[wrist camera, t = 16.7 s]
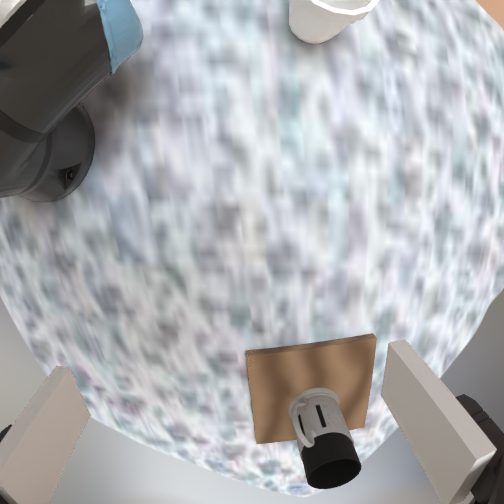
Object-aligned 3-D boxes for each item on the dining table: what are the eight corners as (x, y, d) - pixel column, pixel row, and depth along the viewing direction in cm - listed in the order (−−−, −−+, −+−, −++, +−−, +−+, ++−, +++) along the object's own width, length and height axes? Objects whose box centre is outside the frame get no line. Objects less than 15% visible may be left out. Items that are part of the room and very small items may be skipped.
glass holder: (303, 431, 50) (319, 497, 36) (259, 385, 47) (267, 457, 33) (347, 408, 50) (374, 471, 35) (308, 356, 46) (333, 425, 32)
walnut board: (256, 438, 52) (256, 444, 51) (245, 350, 47) (246, 356, 46) (361, 421, 53) (364, 426, 51) (373, 333, 47) (376, 338, 46)
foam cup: (340, 61, 37) (377, 26, 24) (272, 45, 36) (287, 1, 24) (346, 8, 35) (380, -35, 22) (283, -8, 34) (299, -59, 21)
